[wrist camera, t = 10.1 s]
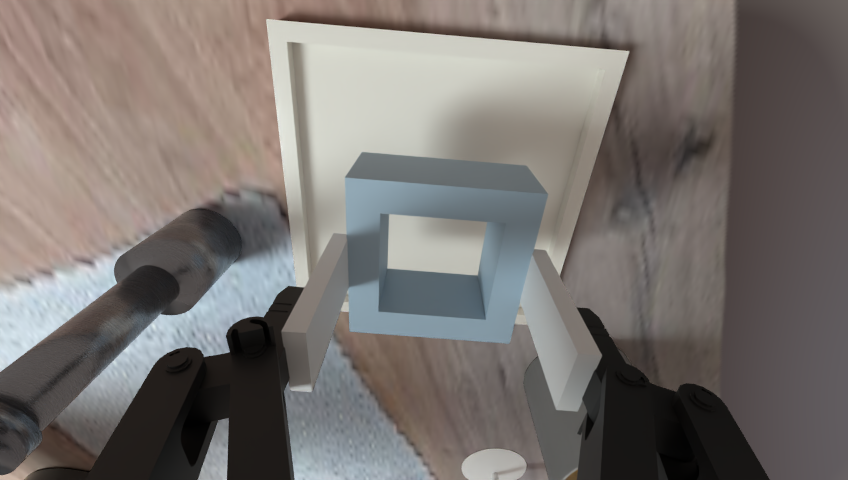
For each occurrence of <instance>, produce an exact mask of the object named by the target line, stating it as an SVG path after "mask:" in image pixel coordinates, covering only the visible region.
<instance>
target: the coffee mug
mask: <svg viewBox="0 0 848 480" xmlns="http://www.w3.org/2000/svg"><path fill="white" fill-rule="evenodd" d="M617 349H618V348H617ZM618 350H619V349H618ZM619 352H620V354H621V355H622V357H623V359H624V360H625V362H626V364H629V365H631V363H630V362H629V360H628V359H627V357H626V356H625V354H624V353H623V352H622V351H620V350H619ZM631 366H632V365H631ZM523 384H524V389H525V393H526V397H527V400H528V404H529V408H530V411H531V415H532V419H533V423H534V426H535V430H536V434H537V437H538V441H539V445H540V448H541V452H542V456H543V460H544V463H545V467H546V471H547V474H548V478H549V480H577V473H578V464H579V455H580V446H581V438H582V433H581V435H579V434H577V433H578V431H579V428H580V426H581V424H582V422H583V420H584V417H585V415H586V413H587V410H586V407H585V405H584V402H583V400H582V403H581V405H580V407H579V410H578V412H577V411H563V410H556V408H555V405H554V402H553V399H552V396H551V393H550V390H549V387H548V384H547V381H546V378H545V375H544V372H543V369H542V366H541V363H540V360H539V357H537V358H536V359H534V360H533V362H532V363H531V364H530V365H529V367H528V369H527V370H526V372H525V376H524V382H523Z"/></svg>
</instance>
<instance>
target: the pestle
mask: <svg viewBox="0 0 848 480" xmlns="http://www.w3.org/2000/svg"><path fill="white" fill-rule="evenodd" d="M241 249H242V242H241V238H240V235H239V233H238V231H237V230H236V228H235V227H234V226H233V225H232V223H231V222H229V221H228V220H227V219H226V218H224V217H223V216H221V215H220V214H217V213H215V212H213V211H209V210H204V209H194V210H190V211H187V212H185V213H184V214H182V215H180V216H179V217H178V218H176V219H175V220H173V221H172V222H170V223H169V224H167V225H166V226H164V227H163V228H161V229H160V230H158V231H157V232H155V233H154V234H152V235H151V236H149V237H148V238H147V239H145V240H144V241H142V242H141V243H139V244H138V245H136V246H135V247H133V248H132V249H130V250H129V251H127V252H126V253H124V254H123V255H122V256H120V257H119V259H118V260H117V262H116V264H115V268H114V274H115V278H116V281H117V284H116V285H115V286H113V287H112V288H111V289H110V290H108V291H107V292H106V293H104V294H103V295H102V296H100V297H99V298H98V299H96V300H95V301H94V302H92V303H91V304H90V305H88V306H87V307H86V308H84V309H83V310H82V311H80V312H79V313H78V314H77V315H75V316H74V317H73V318H71V319H70V320H69V321H67V322H66V323H65V324H63V325H62V326H61V327H59V328H58V329H57V330H55V331H54V332H53V333H51V334H50V335H49V336H48V337H46V338H45V339H44V340H42V341H41V342H40V343H38V344H37V345H36V346H34V347H33V348H32V349H30V350H29V351H28V352H26V353H25V354H24V355H22V356H21V357H20V358H18V359H17V360H16V361H15V362H13V363H12V364H11V365H9V366H8V367H7V368H5V369H4V370H3V371H1V372H0V475H5V474H8V473H11V472H12V471H14V470H15V469H16V468H17V467H18V466H19V465H20V464H21V463H22V462H23V461H24V460H25V459H26V458H27V457H28V456H29V455H30V454H31V453H32V452H33V451H34V450H35V449H36V448H37V447H38V446H39V444H40V443H41V441H42V433H41V432H42V431H43V430H44V429H45V428H46V427H47V426H48V425H49V424H50V423H51V422H52V421H53V420H54V419H55V418H56V417H57V416H58V415H59V414H60V413H61V412H62V411H63V410H64V409H65V408H66V407H67V406H68V405H69V404H70V403H71V402H72V401H73V400H74V399H75V398H76V397H77V396H78V395H79V394H80V393H81V392H82V391H83V390H84V389H85V388H86V387H87V386H88V385H89V384H90V383H91V382H92V381H93V380H94V379H95V378H96V377H97V376H98V375H99V374H100V373H101V372H102V371H103V370H104V369H105V368H106V367H107V366H108V365H109V364H110V363H111V362H112V361H113V360H114V359H115V358H116V357H117V356H118V355H119V354H120V353H121V352H122V351H123V350H124V349H125V348H126V347H127V346H128V345H129V344H130V343H132V342H133V341H134V340H135V339H136V338H137V337H138V336H139V335H140V334H141V333H142V332H143V331H144V330H145V329H146V328H147V327H148V326H149V325H150V324H151V323H152V322H153V321H154V320H155V319H156V318H157V317H158V316H159V315H160V314H163V315H178V314H182V313H185V312H187V311H189V310H190V309H191V308H192V307H193V306H194V305H195V304H196V303H197V302H198V301H199V300H200V299H201V297H202V296H203V295H204V294H205V293H206V292H207V291H208V290H209V289H210V288H211V287H212V285H213V284H214V283H215V282H216V281H217V280H218V279H219V278H220V277H221V276H222V274H223V273H224V272H225V271H226V270H227V269H228V268H229V267H230V266H231V265H232V264H233V262H234V261H235V260H236V259H237V258H238V257H239V255H240V253H241Z"/></svg>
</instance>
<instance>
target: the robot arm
mask: <svg viewBox="0 0 848 480" xmlns="http://www.w3.org/2000/svg"><path fill="white" fill-rule="evenodd" d="M348 288H349V278H348V244H347V234H339V233H333V235H332V237H331V239H330V240H329V242H328V244H327V246H326V248H325V250H324V252H323V254H322V256H321V257H320V259H319V261H318V263H317V265H316V267H315V269H314V271H313V273H312V274H311V276H310V278H309V280H308V282H307V284H306V286H305V287H293V286H288V287H287V288H285V289H284V290H283V291H281V292H280V293H279V294H278V295H277V297H276V298H275V300H274V302H273V304H272V305H271V307H270V308H269V311H268V312H267V313H266V315H265V316H264V318H263V317H249V318H246V319H242V320H240V321H238V322H237V323H235V324H233V325H232V326H231V327H230V329H229V330H228V332H227V335H226V338H227V342H228V346H229V349H230V352H229V353H225V354H220V355H214V356H208V357H204V356H203V354H202V352H201V351H200V350H198V349H196V348H190V347H186V348H180V349H176V350H174V351H172V352H169V353H167V354H166V355H164V356H163V357H161V358H160V359H159V360H158V361H157V362H156V363H155V365H154V366H153V368H152V369H151V371H150V373H149V374H148V376H147V378H146V379H145V381H144V383H143V384H142V386H141V388H140V389H139V391H138V393H137V394H136V396H135V398H134V399H133V401H132V403H131V404H130V406H129V408H128V409H127V411H126V413H125V414H124V416H123V417H122V419H121V421H120V422H119V424H118V426H117V427H116V429H115V431H114V432H113V434H112V436H111V437H110V439H109V441H108V442H107V444H106V446H105V447H104V449H103V451H102V452H101V454H100V456H99V457H98V459H97V461H96V462H95V464H94V466H93V467H92V469H91V471H90V472H84V471H79V470H72V469H45V470H40V471H36V472H34V473H32V474H30V475H28V476H27V477H26V478H25V479H24V480H197V479H198V477H199V474H200V471H201V468H202V465H203V462H204V459H205V457H206V454H207V451H208V448H209V445H210V442H211V439H212V436H213V434H214V431H215V428H216V425H217V422H218V420H221V419H225V418H229V436H228V468H227V480H294V471H293V463H292V454H291V446H290V437H289V429H288V420H287V412H286V403H285V396H284V390H285V388H286V385H287V383H288V381H289V386H290V391H302V392H312V391H313V389H314V386H315V383H316V380H317V377H318V374H319V371H320V368H321V366H322V363H323V360H324V357H325V354H326V351H327V348H328V346H329V343H330V340H331V337H332V334H333V331H334V328H335V326H336V323H337V320H338V317H339V314H340V311H341V308H342V306H343V303H344V300H345V297H346V294H347V291H348ZM520 302H521V305H522V308H523V311H524V315H525V318H526V321H527V324H528V327H529V330H530V333H531V336H532V339H533V342H534V345H535V348H536V351H537V354H538V357H539V360H540V363H541V366H542V369H543V372H544V375H545V378H546V381H547V384H548V387H549V390H550V393H551V396H552V399H553V402H554V405H555V408H556V410H563V411H577V412H578V410H579V407H580V405H581V403H582V400H583V402H584V405H585V407H586V410H587V413H586V415H585V417H584V420H583V422H582V424H581V426H580V428H579V431H578V433H577V434H579V435H581V433H582V438H581V446H580V455H579V464H578V473H577V480H770V479H769V478H768V476H767V474H766V473H765V471H764V469H763V468H762V466H761V464H760V462H759V461H758V459H757V458H756V456H755V454H754V452H753V451H752V449H751V447H750V445H749V444H748V442H747V441H746V439H745V437H744V435H743V434H742V432H741V430H740V428H739V427H738V425H737V424H736V422H735V420H734V419H733V417H732V415H731V414H730V412H729V410H728V408H727V406H726V405H725V404H724V403H723V402H722V400H721V399H720V398H719V397H717V396H716V395H715V394H714V393H712V392H711V391H709V390H707V389H705V388H704V387H701V386H698V385H695V384H687V383H686V384H683V385H680V387H679V389H678V390H677V392H675V391H672V390H669V389H666V388H662V387H659V386H656V385H654V384H651V383H650V382H649V380H648V378H647V377H646V376H645V375H644V374H643V373H642V372H641V371H640V370H638V369H637V368H635V367H633V366H631V365H629V364H626V362H625V360H624V359H623V357H622V355H621V354H620V352H619V350H618V349H617V347H616V345H615V344H614V342H613V340H612V339H611V337H609V334H608V332H607V330H606V329H605V328H604V325H603V324H602V322H601V320H600V319H599V317H598V316H597V315H596V314H594V313H593V312H592V311H591V310H590V309H588V308H576V306H575V304H574V302H573V300H572V298H571V297H570V295H569V293H568V291H567V289H566V287H565V285H564V284H563V282H562V280H561V278H560V276H559V274H558V272H557V270H556V269H555V267H554V265H553V263H552V261H551V259H550V257H549V256H548V254H547V252H546V250H540V249H534V251H533V254H532V256H531V260H530V264H529V268H528V272H527V276H526V279H525V283H524V287H523V291H522V295H521V299H520Z"/></svg>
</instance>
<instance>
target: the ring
mask: <svg viewBox="0 0 848 480" xmlns="http://www.w3.org/2000/svg"><path fill="white" fill-rule="evenodd" d="M547 197H548V193H547V192H546V190H545V189H544V188H543V186H542V185H541V184H540V183H539V181H538V180H537V179H536V177H535V176H534V175H533V173H532V172H531V171H530V169H529V168H528V167H527V166H526V165H514V164H501V163H489V162H477V161H465V160H453V159H441V158H429V157H417V156H405V155H393V154H381V153H369V152H362V153H361V154H360V156H359V157H358V159H357V160H356V162H355V163H354V165H353V166H352V168H351V169H350V171H349V172H348V173H347V175H346V176H345V200H346V232H347V244H348V278H349V288H348V297H349V330H350V332H361V333H375V334H388V335H401V336H414V337H428V338H441V339H454V340H467V341H480V342H494V343H507V344H509V343H510V340H511V336H512V332H513V328H514V324H515V320H516V317H517V313H518V309H519V305H520V299H521V295H522V291H523V287H524V283H525V279H526V276H527V272H528V268H529V264H530V260H531V256H532V254H533V251H534V247H535V243H536V240H537V236H538V232H539V228H540V224H541V220H542V216H543V213H544V209H545V205H546V201H547ZM389 214H395V215H407V216H420V217H432V218H444V219H457V220H469V221H482V222H487V226H486V232H485V237H484V243H483V248H482V254H481V259H480V265H479V271H478V276H477V275H465V274H452V273H439V272H426V271H414V270H401V269H388V268H387V265H388V235H389Z"/></svg>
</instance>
